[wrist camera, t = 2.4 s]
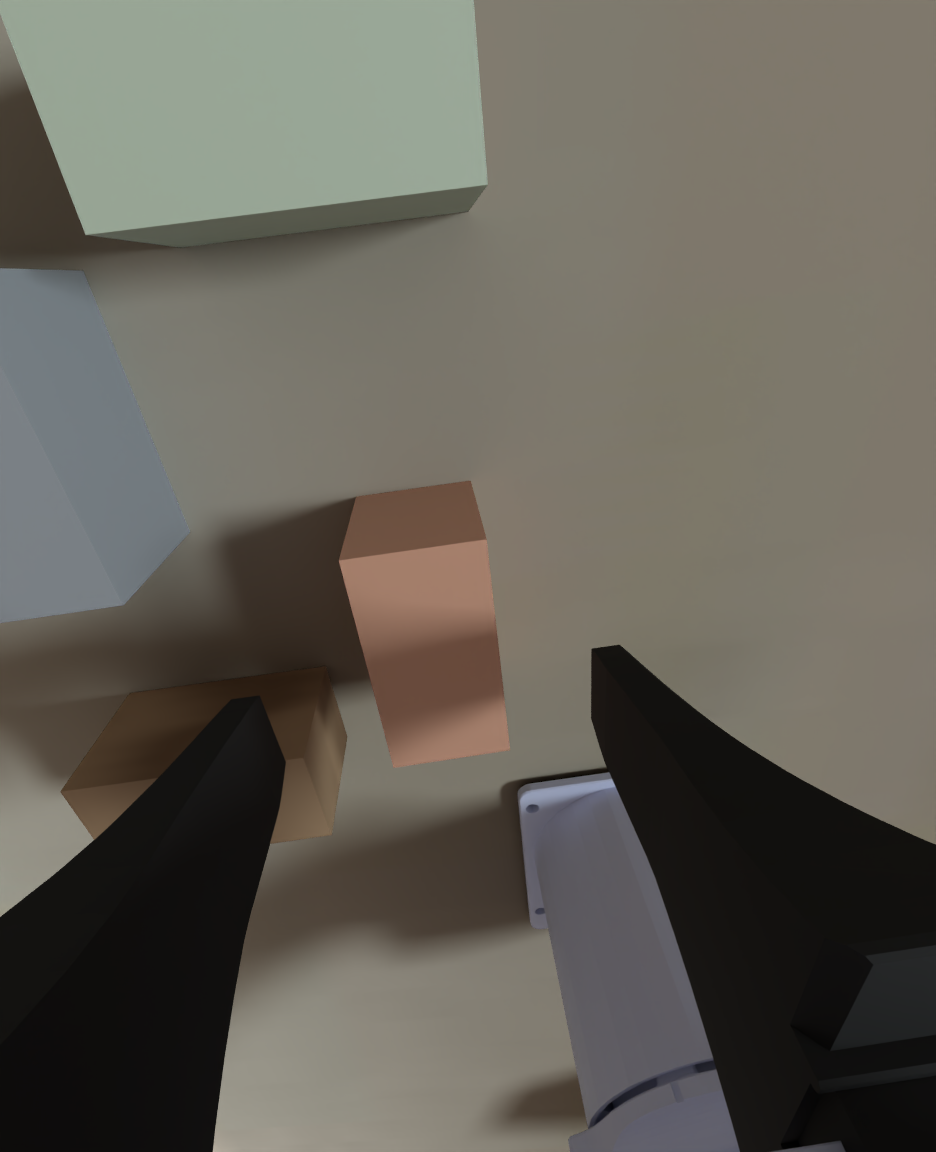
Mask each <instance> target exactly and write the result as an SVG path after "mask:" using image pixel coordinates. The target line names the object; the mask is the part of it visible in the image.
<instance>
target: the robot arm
mask: <svg viewBox="0 0 936 1152" xmlns="http://www.w3.org/2000/svg"><path fill="white" fill-rule="evenodd" d="M591 719H592V723H593V726H594V729H595V733H596V736H597V739H598V743H599V746H600V749H601V752H602V755H603V758H604V761H605V764H606V766H607V768H608V771H609V772H608V773H601V774H594V775H587V776H580V777H573V778H566V779H559V780H551V781H544V782H537V783H530V784H526V785H524V786H522V787H521V788H520V789H519V790H518V794H517V795H518V806H519V816H520V826H521V836H522V846H523V857H524V867H525V877H526V887H527V897H528V907H529V918H530V923H531V926H532V927H534V928H535V929H546V928H548V929H549V934H550V939H551V944H552V949H553V954H554V959H555V964H556V970H557V975H558V980H559V985H560V990H561V995H562V1000H563V1005H564V1010H565V1015H566V1020H567V1025H568V1030H569V1035H570V1040H571V1045H572V1050H573V1055H574V1060H575V1065H576V1070H577V1075H578V1080H579V1085H580V1090H581V1095H582V1100H583V1105H584V1110H585V1115H586V1120H587V1125H588V1129H587V1130H585V1131H583V1132H581V1133H578V1134H575V1135H573V1136H570V1137H569V1139H568V1142H569V1148H570V1152H936V845H935V844H933V843H930V842H928V841H925V840H923V839H921V838H919V837H916V836H914V835H912V834H910V833H907V832H905V831H903V830H901V829H899V828H897V827H894V826H892V825H890V824H888V823H886V822H884V821H881V820H879V819H877V818H875V817H873V816H871V815H868V814H866V813H864V812H862V811H860V810H858V809H856V808H854V807H852V806H850V805H848V804H846V803H844V802H842V801H840V800H838V799H837V798H835V797H833V796H831V795H829V794H827V793H825V792H823V791H822V790H820V789H818V788H816V787H814V786H812V785H810V784H809V783H807V782H805V781H803V780H801V779H799V778H798V777H796V776H794V775H793V774H791V773H789V772H787V771H786V770H784V769H782V768H781V767H779V766H777V765H776V764H774V763H772V762H771V761H769V760H768V759H766V758H764V757H763V756H761V755H760V754H758V753H756V752H755V751H753V750H752V749H750V748H748V747H747V746H745V745H744V744H742V743H741V742H739V741H738V740H736V739H735V738H734V737H732V736H731V735H729V734H728V733H727V732H725V731H724V730H722V729H721V728H720V727H718V726H717V725H715V724H714V723H713V722H711V721H710V720H709V719H707V718H706V717H705V716H703V715H702V714H701V713H700V712H698V711H697V710H696V709H694V708H693V707H692V706H691V705H689V704H688V703H687V702H686V701H684V700H683V699H682V698H681V697H680V696H678V695H677V694H676V693H675V692H673V691H672V690H671V689H670V688H669V687H667V686H666V685H665V684H664V683H663V682H661V681H660V680H659V679H658V678H657V677H656V676H655V675H653V674H652V673H651V672H650V671H649V670H648V669H647V668H645V667H644V666H643V665H642V664H641V663H640V662H639V661H638V660H636V659H635V658H634V657H633V656H632V655H631V654H630V653H629V652H627V651H626V650H625V649H624V648H623V647H621V646H620V645H614V646H607V647H600V648H593V649H592V658H591ZM285 766H286V761H285V758H284V756H283V753H282V751H281V748H280V746H279V743H278V741H277V738H276V736H275V733H274V731H273V728H272V726H271V723H270V720H269V718H268V715H267V713H266V710H265V708H264V705H263V703H262V700H261V698H260V695H258V696H251V697H244V698H237V699H231V700H230V701H229V702H228V703H227V704H226V705H225V706H224V707H223V708H222V709H221V710H220V711H219V713H218V714H217V715H216V716H215V717H214V718H213V719H212V720H211V721H210V722H209V723H208V724H207V726H206V727H205V728H204V729H203V730H202V731H201V732H200V733H199V734H198V735H197V737H196V738H195V739H194V740H193V741H192V742H191V743H190V744H189V745H188V746H187V748H186V749H185V750H184V751H183V752H182V753H181V754H180V755H179V756H178V757H177V758H176V759H175V760H174V761H173V763H172V764H171V765H170V766H169V767H168V768H167V769H166V770H165V771H164V772H163V773H162V774H161V775H160V776H159V777H158V779H157V780H156V781H155V782H154V783H153V784H151V785H150V786H149V787H148V788H147V789H146V790H145V791H144V792H143V793H142V794H141V795H140V796H139V797H138V798H137V799H136V800H135V801H134V802H133V803H132V804H131V805H130V806H129V807H128V808H127V809H126V810H125V811H124V812H123V813H122V814H121V815H120V816H119V817H118V818H117V819H116V820H115V821H114V822H113V823H112V824H111V825H110V826H109V827H108V828H107V829H106V830H105V831H104V832H102V833H101V834H100V835H99V836H98V837H97V838H96V839H95V840H94V841H93V842H91V843H90V844H89V845H88V846H87V847H86V848H85V849H83V850H82V851H81V852H80V853H79V854H78V855H76V856H75V857H74V858H73V859H72V860H71V861H70V862H68V863H67V864H66V865H65V866H64V867H63V868H61V869H60V870H59V871H58V872H57V873H55V874H54V875H53V876H52V877H51V878H49V879H48V880H47V881H46V882H44V883H43V884H42V885H40V886H39V887H38V888H37V889H35V890H34V891H33V892H31V893H30V894H29V895H28V896H26V897H25V898H24V899H23V900H21V901H20V902H19V903H17V904H16V905H15V906H14V907H12V908H11V909H10V910H9V911H7V912H6V913H5V914H3V915H2V916H1V917H0V1152H213V1143H214V1134H215V1125H216V1118H217V1110H218V1102H219V1095H220V1087H221V1080H222V1072H223V1065H224V1057H225V1051H226V1044H227V1038H228V1032H229V1025H230V1019H231V1013H232V1006H233V1000H234V994H235V988H236V983H237V977H238V971H239V966H240V960H241V955H242V949H243V944H244V939H245V935H246V930H247V926H248V922H249V918H250V914H251V910H252V907H253V903H254V900H255V896H256V892H257V889H258V885H259V882H260V878H261V874H262V871H263V867H264V864H265V860H266V857H267V853H268V849H269V846H270V842H271V838H272V835H273V831H274V827H275V824H276V820H277V816H278V812H279V808H280V802H281V796H282V789H283V782H284V774H285Z"/></svg>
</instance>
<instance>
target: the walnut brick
mask: <svg viewBox="0 0 936 1152" xmlns="http://www.w3.org/2000/svg"><path fill="white" fill-rule="evenodd" d="M258 695H260V698H261V700H262V703H263V705H264V708H265V710H266V713H267V715H268V718H269V720H270V723H271V726H272V728H273V731H274V733H275V736H276V738H277V741H278V743H279V746H280V748H281V751H282V753H283V756H284V758H285V761H286V766H285V774H284V782H283V789H282V796H281V802H280V808H279V812H278V816H277V820H276V824H275V827H274V831H273V835H272V838H271V842H270V844H271V843H278V842H286V841H293V840H300V839H307V838H314V837H321V836H328V835H332V830H333V823H334V817H335V811H336V804H337V798H338V792H339V786H340V779H341V773H342V767H343V761H344V754H345V748H346V742H347V734H346V731H345V728H344V724H343V721H342V718H341V714H340V711H339V708H338V705H337V701H336V698H335V695H334V691H333V688H332V685H331V681H330V678H329V675H328V672H327V668H326V666H323V667H316V668H308V669H301V670H294V671H287V672H279V673H272V674H265V675H258V676H250V677H243V678H236V679H229V680H222V681H214V682H207V683H200V684H193V685H185V686H178V687H171V688H164V689H156V690H149V691H142V692H135V693H130V694H129V695H128V696H127V698H126V699H125V701H124V702H123V703H122V705H121V706H120V708H119V709H118V711H117V712H116V713H115V715H114V716H113V718H112V719H111V721H110V722H109V723H108V725H107V726H106V728H105V729H104V730H103V732H102V733H101V735H100V736H99V738H98V739H97V740H96V742H95V743H94V745H93V746H92V748H91V749H90V750H89V752H88V753H87V755H86V756H85V757H84V759H83V760H82V762H81V763H80V765H79V766H78V767H77V769H76V770H75V772H74V773H73V775H72V776H71V777H70V779H69V780H68V782H67V783H66V784H65V786H64V787H63V789H62V790H61V793H62V795H63V796H64V798H65V799H66V800H67V802H68V803H69V805H70V806H71V808H72V809H73V810H74V812H75V813H76V815H77V816H78V817H79V819H80V820H81V822H82V823H83V825H84V826H85V827H86V829H87V830H88V832H89V833H90V834H91V836H92V837H93V839H94V840H95V839H96V838H97V837H98V836H99V835H100V834H101V833H102V832H104V831H105V830H106V829H107V828H108V827H109V826H110V825H111V824H112V823H113V822H114V821H115V820H116V819H117V818H118V817H119V816H120V815H121V814H122V813H123V812H124V811H125V810H126V809H127V808H128V807H129V806H130V805H131V804H132V803H133V802H134V801H135V800H136V799H137V798H138V797H139V796H140V795H141V794H142V793H143V792H144V791H145V790H146V789H147V788H148V787H149V786H150V785H151V784H153V783H154V782H155V781H156V780H157V779H158V777H159V776H160V775H161V774H162V773H163V772H164V771H165V770H166V769H167V768H168V767H169V766H170V765H171V764H172V763H173V761H174V760H175V759H176V758H177V757H178V756H179V755H180V754H181V753H182V752H183V751H184V750H185V749H186V748H187V746H188V745H189V744H190V743H191V742H192V741H193V740H194V739H195V738H196V737H197V735H198V734H199V733H200V732H201V731H202V730H203V729H204V728H205V727H206V726H207V724H208V723H209V722H210V721H211V720H212V719H213V718H214V717H215V716H216V715H217V714H218V713H219V711H220V710H221V709H222V708H223V707H224V706H225V705H226V704H227V703H228V702H229V701H230V700H231V699H237V698H244V697H251V696H258Z"/></svg>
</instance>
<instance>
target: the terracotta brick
mask: <svg viewBox="0 0 936 1152" xmlns="http://www.w3.org/2000/svg"><path fill="white" fill-rule="evenodd" d="M339 563H340V567H341V571H342V575H343V578H344V582H345V586H346V590H347V594H348V597H349V601H350V605H351V609H352V612H353V616H354V620H355V624H356V627H357V631H358V635H359V639H360V643H361V646H362V650H363V654H364V658H365V661H366V665H367V669H368V673H369V676H370V680H371V684H372V688H373V692H374V695H375V699H376V703H377V707H378V710H379V714H380V718H381V722H382V725H383V729H384V733H385V737H386V741H387V744H388V748H389V752H390V756H391V759H392V763H393V767H394V768H395V767H402V766H408V765H415V764H422V763H428V762H435V761H442V760H448V759H455V758H461V757H468V756H475V755H481V754H488V753H495V752H501V751H508V750H510V745H509V736H508V727H507V718H506V709H505V700H504V691H503V682H502V673H501V664H500V656H499V647H498V638H497V629H496V620H495V611H494V602H493V593H492V584H491V575H490V566H489V557H488V548H487V539H486V536H485V532H484V528H483V525H482V521H481V517H480V514H479V510H478V506H477V503H476V499H475V495H474V492H473V488H472V484H471V481H465V482H458V483H451V484H444V485H437V486H429V487H422V488H415V489H408V490H401V491H394V492H387V493H379V494H372V495H365V496H358V497H356V499H355V503H354V507H353V510H352V514H351V518H350V521H349V525H348V529H347V532H346V536H345V540H344V543H343V547H342V551H341V554H340V558H339Z"/></svg>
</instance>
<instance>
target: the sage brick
mask: <svg viewBox="0 0 936 1152" xmlns="http://www.w3.org/2000/svg"><path fill="white" fill-rule="evenodd" d="M0 15H1V17H2V20H3V23H4V25H5V28H6V30H7V33H8V35H9V38H10V41H11V43H12V46H13V48H14V51H15V54H16V56H17V59H18V61H19V64H20V67H21V69H22V72H23V74H24V77H25V79H26V82H27V85H28V87H29V90H30V92H31V95H32V98H33V100H34V103H35V105H36V108H37V110H38V113H39V116H40V118H41V121H42V123H43V126H44V129H45V131H46V134H47V136H48V139H49V142H50V144H51V147H52V149H53V152H54V154H55V157H56V160H57V162H58V165H59V167H60V170H61V173H62V175H63V178H64V180H65V183H66V185H67V188H68V191H69V193H70V196H71V198H72V201H73V204H74V206H75V209H76V211H77V214H78V216H79V219H80V222H81V224H82V227H83V229H84V232H85V235H90V236H97V237H104V238H112V239H119V240H127V241H134V242H142V243H149V244H157V245H164V246H172V247H179V248H182V247H190V246H198V245H206V244H214V243H222V242H230V241H238V240H246V239H254V238H262V237H270V236H278V235H286V234H294V233H302V232H310V231H318V230H326V229H333V228H341V227H349V226H357V225H365V224H373V223H381V222H389V221H397V220H405V219H413V218H421V217H429V216H437V215H445V214H453V213H461V212H468V211H469V210H470V209H471V207H472V206H473V204H474V203H475V202H476V200H477V199H478V197H479V196H480V195H481V193H482V192H483V190H484V189H485V188H486V186H487V185H488V183H487V170H486V157H485V144H484V131H483V118H482V104H481V91H480V78H479V65H478V52H477V39H476V26H475V13H474V0H0Z"/></svg>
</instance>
